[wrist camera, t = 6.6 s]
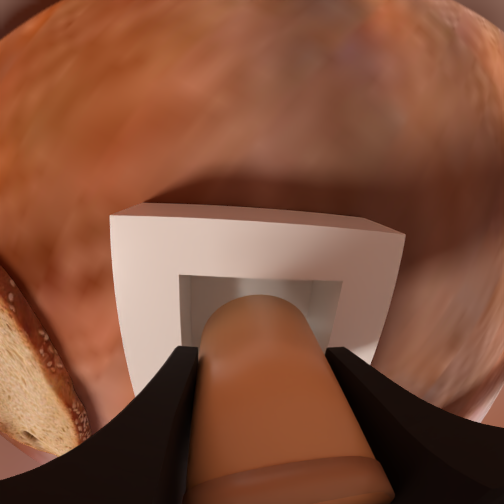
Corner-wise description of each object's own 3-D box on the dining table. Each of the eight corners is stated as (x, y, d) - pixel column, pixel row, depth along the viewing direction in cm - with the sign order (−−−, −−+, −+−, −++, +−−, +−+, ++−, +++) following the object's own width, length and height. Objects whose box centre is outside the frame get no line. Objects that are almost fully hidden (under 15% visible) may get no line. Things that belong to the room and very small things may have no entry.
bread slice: (-15, 224, 11) (-54, 239, 7) (162, 423, 15) (154, 465, 12) (-50, 336, 12) (-69, 353, 9) (63, 456, 17) (54, 479, 14)
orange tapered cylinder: (320, 294, 9) (434, 462, 3) (301, 381, 10) (351, 531, 4) (199, 290, 9) (162, 504, 2) (201, 382, 10) (192, 546, 3)
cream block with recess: (363, 217, 12) (441, 249, 7) (311, 423, 16) (332, 485, 11) (142, 202, 11) (78, 228, 6) (164, 422, 15) (153, 489, 10)
